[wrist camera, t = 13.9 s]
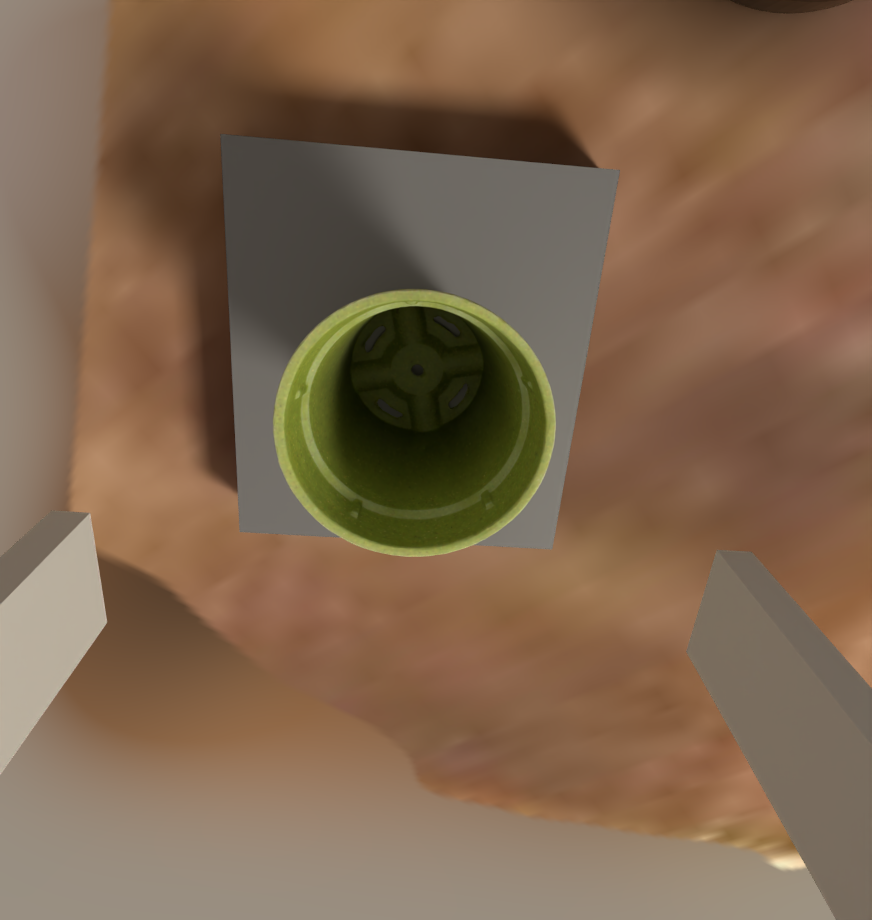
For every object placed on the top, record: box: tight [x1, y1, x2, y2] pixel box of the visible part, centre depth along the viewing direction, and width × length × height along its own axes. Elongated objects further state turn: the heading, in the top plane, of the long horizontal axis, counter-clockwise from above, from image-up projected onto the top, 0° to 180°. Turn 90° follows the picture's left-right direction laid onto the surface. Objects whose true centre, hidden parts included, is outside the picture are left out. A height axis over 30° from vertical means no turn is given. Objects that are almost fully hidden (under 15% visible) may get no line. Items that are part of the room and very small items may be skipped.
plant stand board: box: [220, 134, 620, 549], centre depth 31 cm, size 18×16×3 cm
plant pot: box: [273, 289, 556, 557], centre depth 25 cm, size 9×9×9 cm
